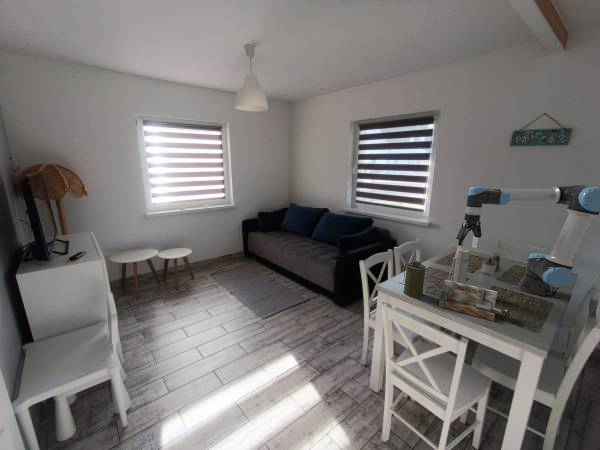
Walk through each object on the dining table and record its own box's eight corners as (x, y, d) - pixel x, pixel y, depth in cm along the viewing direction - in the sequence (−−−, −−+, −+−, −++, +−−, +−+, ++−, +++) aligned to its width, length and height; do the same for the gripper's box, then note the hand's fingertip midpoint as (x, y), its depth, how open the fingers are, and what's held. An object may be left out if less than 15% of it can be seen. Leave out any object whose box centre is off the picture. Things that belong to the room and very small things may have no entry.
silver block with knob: (508, 314, 131) (512, 297, 129) (509, 319, 127) (512, 302, 125) (475, 305, 139) (478, 289, 137) (475, 310, 134) (477, 294, 132)
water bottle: (461, 287, 164) (468, 249, 158) (466, 293, 156) (472, 253, 151) (445, 285, 166) (451, 247, 160) (448, 291, 159) (454, 251, 153)
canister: (423, 292, 157) (427, 260, 153) (421, 299, 148) (425, 266, 144) (404, 287, 163) (407, 257, 158) (401, 294, 154) (404, 262, 149)
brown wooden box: (493, 312, 137) (497, 291, 134) (493, 321, 129) (498, 299, 126) (441, 298, 150) (444, 279, 147) (438, 306, 142) (441, 286, 139)
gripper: (479, 211, 160) (473, 244, 165) (452, 214, 149) (447, 250, 154) (492, 213, 154) (486, 248, 158) (465, 216, 143) (460, 254, 148)
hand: (467, 249), depth 156 cm, fingers open, 13 cm apart
